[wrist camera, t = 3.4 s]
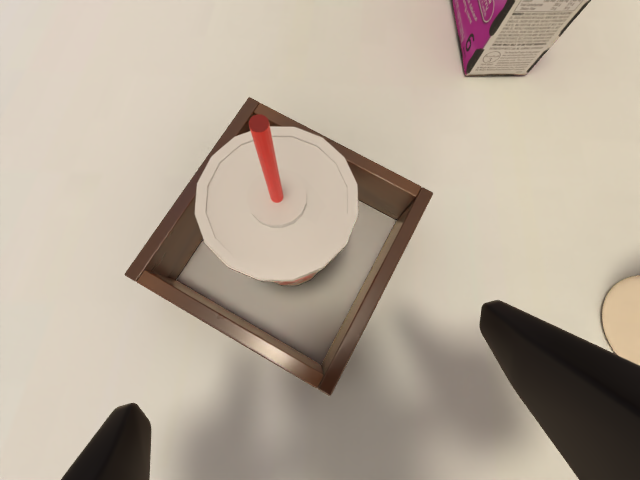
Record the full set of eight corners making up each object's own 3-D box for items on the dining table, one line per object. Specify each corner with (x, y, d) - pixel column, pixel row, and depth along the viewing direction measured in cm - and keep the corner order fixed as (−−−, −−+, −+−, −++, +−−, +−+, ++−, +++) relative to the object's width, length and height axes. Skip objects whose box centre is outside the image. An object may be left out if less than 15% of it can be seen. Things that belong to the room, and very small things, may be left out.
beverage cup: (277, 185, 23) (232, -24, 9) (357, 236, 22) (436, 94, 8) (220, 262, 21) (65, 154, 8) (302, 319, 21) (293, 310, 7)
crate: (411, 216, 22) (433, 192, 18) (325, 382, 20) (330, 396, 16) (259, 136, 23) (248, 96, 19) (159, 284, 21) (123, 274, 17)
